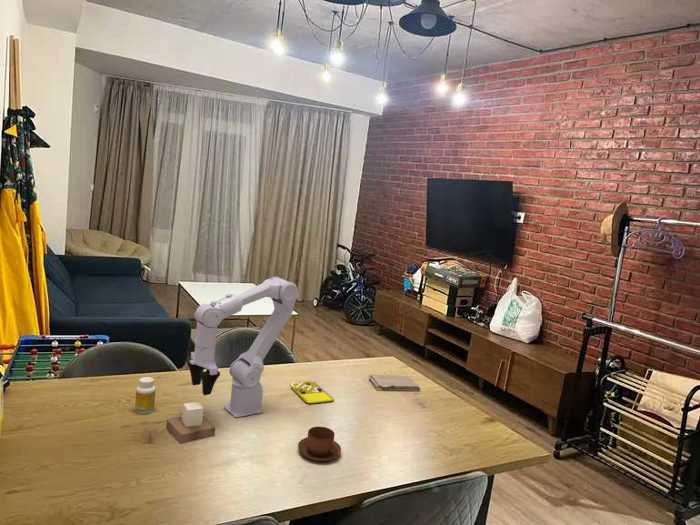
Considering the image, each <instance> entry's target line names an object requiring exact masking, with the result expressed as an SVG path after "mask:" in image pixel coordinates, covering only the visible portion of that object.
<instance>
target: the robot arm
mask: <svg viewBox="0 0 700 525" xmlns="http://www.w3.org/2000/svg"><path fill="white" fill-rule="evenodd" d="M299 296H300V295H299V289H298V287H297V285H296V284H295V282H291V281H288V280H286V279H283V278H281V277H279V276H273V277H270V278H267V279H264V281H263V282H262V283H260V284H257V286H254V287H252V288H250V289H248V290H246V291H244V292H243V293H240V294H238V295H237V294H235V293H226V294H225V297H222V298H220V299H218V300H212V301H210V304H209V303H202V304H200V305H199V306H198V307H197V308H196V310H195V312H194V313H193V317H194V319H195V321H196V329H195V330H196V332H195V333H196V334H195V343H194V351H191V352H190V360H188V361H186V364H187V367H188V369H189V373H190V377H191V384H192V386H194V387H195V386H199V385H200V384H202V385H201V386H202V387H201V388H202V395H203V396H208V395H209V396H210V395H211V394H212V392H213V391H212V390H214V386H215V383H216V382H217V380H218V378H219V377H220V375H221V372H220V371H219V370H218V369H219V368H218V367H217V364H216V361H215V360H216V359H215V353H216V343H217V329H218V326H219V325H220V324H221V322H222V321H223V320H224V319H226V318H229V317H230V316H231V317H232V315H236V314H237V313H240V312H241V311H242V309H243V307H244V306H245V305H248V304H251V303H254V302H256V301H259V300H261V299H264V298H270V299H271V300H272V303H273V306H274V307H273V308H274V309H273V311H272V313H271V314H270V316H269V317H268V319H267V321H266V322H265V324H264V325H263V326H262V328H261V330H260V331H259V332H258V335H257V336H256V338H255V339H254V341H253V342H252V344H251V345H250V347H249V349H248V350H247V351H245V352H243V353H241V354H240V355H239V356H238V358H236V360H234V361H233V362H232V363H231V364H230V366H229V371H228V372H229V375H230V376H231V377H232V378H231V379H232V380H231V390H230V391H231V392H230V402H229V405H225V406H223V408H224V409H225V410H226V411H227V412H228V413H229V414H230V415H232V416H233V417H234V418H237V419H238V418H241V417H246V416H251V415H256V414H261V413H263V410H262V405H263V404H262V403H263V397H264V396H263V395H264V391H263V390H264V389H263V386H262V383H261V382H260V381H261V377H262V373H263V372H264V369H265V367H264V359H265V357H266V356H267V355H268V353H269V351H270V349H271V348H272V347H273V345H274V343H275V342H276V340H277V338H278V337H279V335H280V333H281V332H282V330H283V329H284V327H285V325H286V324H287V323H288V320H289V319H290V318H291V316H292V314H293V312H294V308H295V303H296V301H297V299H298V298H299ZM205 369H206V371H204V370H205Z"/></svg>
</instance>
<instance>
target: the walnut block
mask: <svg viewBox="0 0 700 525" xmlns="http://www.w3.org/2000/svg"><path fill="white" fill-rule="evenodd" d="M166 429H167V430H168V431H169V433H170V434H171V435H172V436H173V437H174V439H176V441H177V442H178V443H179V444H181V445H182V444H183V443H190V442H193V441H198V440H201V439H206V438H209V437H215V435H216V426H215V425H214V424H213V423H212V422H211V421H210V420H209V419H208V418H207V417H205V415H203V419H202V425H198V426H192V427H186V426H185V425H184V423H183V422H182V416H177V417H173V418H168V419H166Z"/></svg>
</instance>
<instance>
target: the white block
mask: <svg viewBox="0 0 700 525" xmlns="http://www.w3.org/2000/svg"><path fill="white" fill-rule="evenodd" d="M181 413H182V414H181V417H182V422H183V423H184V425H185V426H186V427H192V426H198V425H202V419H203V416H204V407H203V405H202V404H201V403H200V401H195V402H186V403H182V412H181Z"/></svg>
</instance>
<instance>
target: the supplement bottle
mask: <svg viewBox="0 0 700 525" xmlns="http://www.w3.org/2000/svg"><path fill="white" fill-rule="evenodd" d="M138 381H139V382H138V386H137V387H136V389H135V404H134V411H135V413H137V414H141V415H142V414H145V415H147V414H150V413H152V412H153V411H154V410H155V399H156V386H155V385H154V378H153V377H150V376H145V377H141V378H140V379H139V380H138Z"/></svg>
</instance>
